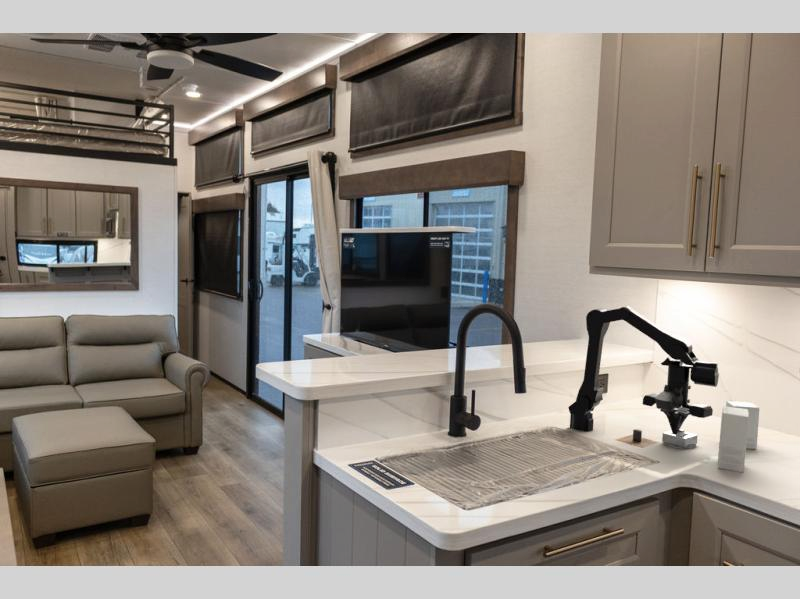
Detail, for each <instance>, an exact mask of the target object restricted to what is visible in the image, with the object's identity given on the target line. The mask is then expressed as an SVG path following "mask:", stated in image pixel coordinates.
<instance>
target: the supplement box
mask: <svg viewBox="0 0 800 599" xmlns="http://www.w3.org/2000/svg"><path fill="white" fill-rule="evenodd" d="M725 403H726V405H725V406H726V407H733V408H742V409H748V412H749V424H748V435H747V446H746V449H749V450H751V449H752V450H756V449H758V448H757V447H758V436H759V435H758V434H759V421H760V420H759V419H760V417H759V416H760V407H759V406H757V405H755V404H754V403H752V402H749V401H729V400H727V401H726V402H725Z"/></svg>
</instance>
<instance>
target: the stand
mask: <svg viewBox="0 0 800 599" xmlns="http://www.w3.org/2000/svg"><path fill="white" fill-rule="evenodd" d="M632 432H633V434H630V435H627V436H623V437H620V438H616V439H615V441H617V442H620V443H621V442H622V443H625V444H629V445H631V446H632V445H633V446H636V447H639V448H646V447H648V446H653V445H655V444H659V443H660V442H659V441H656V440H652V439H648V438H645V437H642V434H643V433H642V432H643V431H642V429H633V430H632Z"/></svg>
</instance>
